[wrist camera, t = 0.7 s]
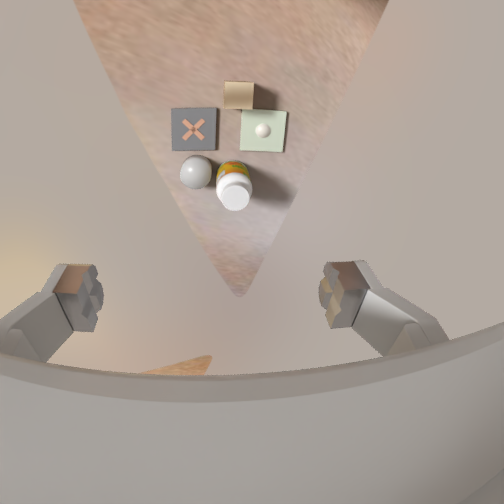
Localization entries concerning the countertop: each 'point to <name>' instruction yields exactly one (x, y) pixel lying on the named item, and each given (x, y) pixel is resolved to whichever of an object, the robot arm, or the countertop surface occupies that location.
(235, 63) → the countertop surface
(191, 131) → the pad
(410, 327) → the robot arm
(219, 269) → the countertop surface
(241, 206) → the supplement bottle
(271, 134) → the pad
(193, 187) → the light grey dome
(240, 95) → the block
